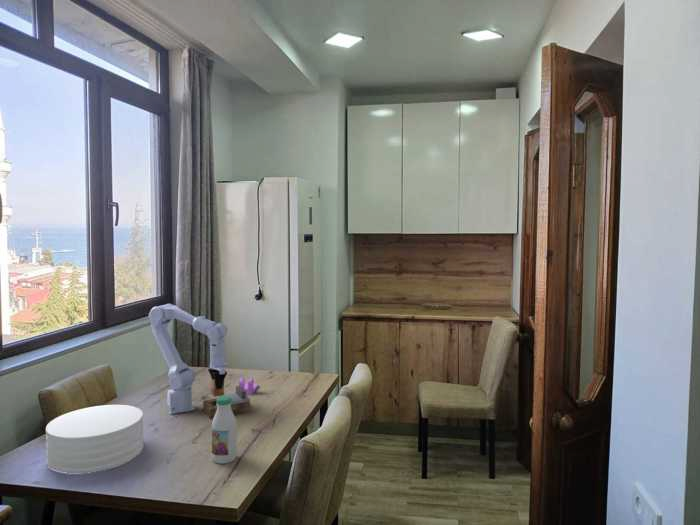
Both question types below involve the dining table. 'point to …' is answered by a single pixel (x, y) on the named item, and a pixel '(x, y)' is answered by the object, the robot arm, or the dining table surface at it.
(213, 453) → the milk bottle
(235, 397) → the lid
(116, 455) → the plate stack
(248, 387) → the bracket
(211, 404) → the brown tray
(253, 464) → the dining table surface
